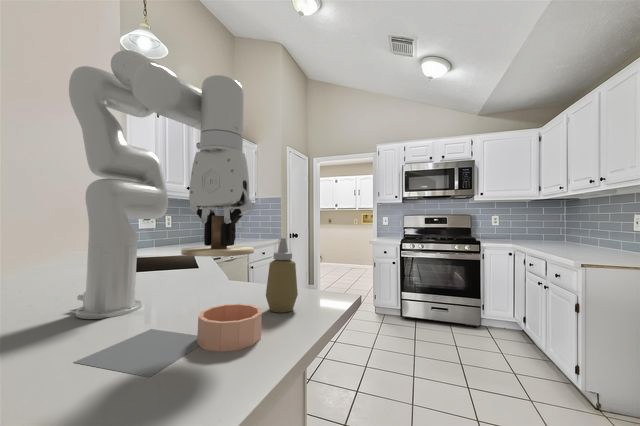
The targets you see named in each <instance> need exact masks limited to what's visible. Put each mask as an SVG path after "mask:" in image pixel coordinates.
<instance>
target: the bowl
mask: <svg viewBox="0 0 640 426" xmlns="http://www.w3.org/2000/svg"><path fill="white" fill-rule="evenodd" d="M262 316H263V312H262V308H261V307H258V306H256V305H253V304H245V303H231V304H230V303H229V304H222V305H216V306H211V307H208V308H205V309H203V310H202V311H200V312H199V315H198V316H197V335H198V336H197V344H199V345H200V346H199V347H200V348H202V349H203V350H205V351H211V352H212V351H213V352H219V353H221V352H222V353H223V352H232V351H240V350H242V349H246V348H249V347H251V346H254V345H255V344H256V343H257V342H259V341H260V340H261V339H262V318H263V317H262Z"/></svg>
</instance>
